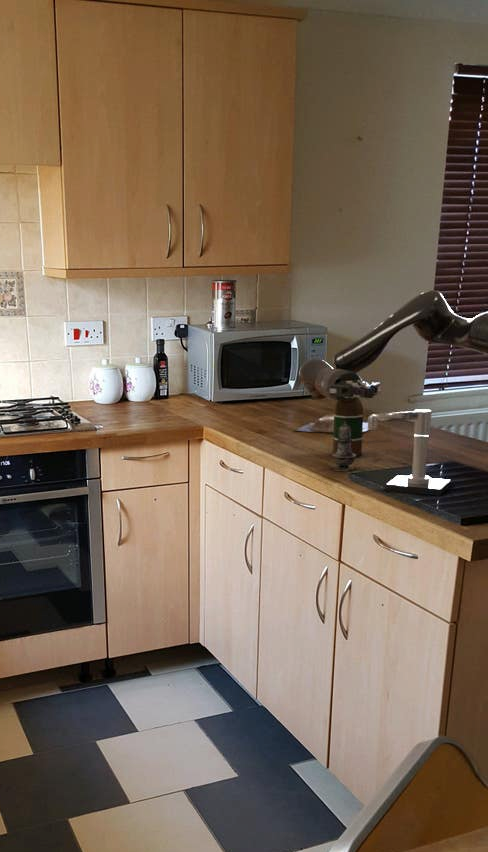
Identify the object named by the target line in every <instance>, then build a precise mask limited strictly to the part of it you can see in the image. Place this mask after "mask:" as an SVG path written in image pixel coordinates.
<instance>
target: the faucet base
mask: <svg viewBox="0 0 488 852" xmlns="http://www.w3.org/2000/svg"><path fill="white" fill-rule="evenodd" d="M428 448H429V435H425V436H420V435H414V434H413V448H412V449H413V450H412V451H413V452H412V454H413V455H412V468H411V474H410V475H396V476H395V477H394V478H393V479H391V480H390V481H388V482H387V483H386V484H385V492H392V493H405V494H416V495H417V494H418V495H427V496H438V497H440V496H442V494H443V493H444V492H446V491H447V490H448V489H449V488H450V487H451V479H444V478H432V477H430V476H429V475H427V465H428V464H427V463H428V450H429V449H428Z"/></svg>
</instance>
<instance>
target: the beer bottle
mask: <svg viewBox="0 0 488 852" xmlns="http://www.w3.org/2000/svg"><path fill="white" fill-rule="evenodd" d="M333 414H334V433H333V434H332V435H333V438H332V444H333V445H332V454H335V453H337V451H338V441H337V440H338V439H339V428H340V426H342V425H344V422H345V421H346V425H348V426H350V427H351V439H352V441H351V452H352V453H353V454H355V455H356V457H355V458H357V457H361V455H362V451H363V433H364V432H363V422H364V405H363V402H362V400H361V399H360V398H358V399H357V400H355V401H354V402H351V403H342V402H339V401H336V403H335V406H334V410H333Z"/></svg>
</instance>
